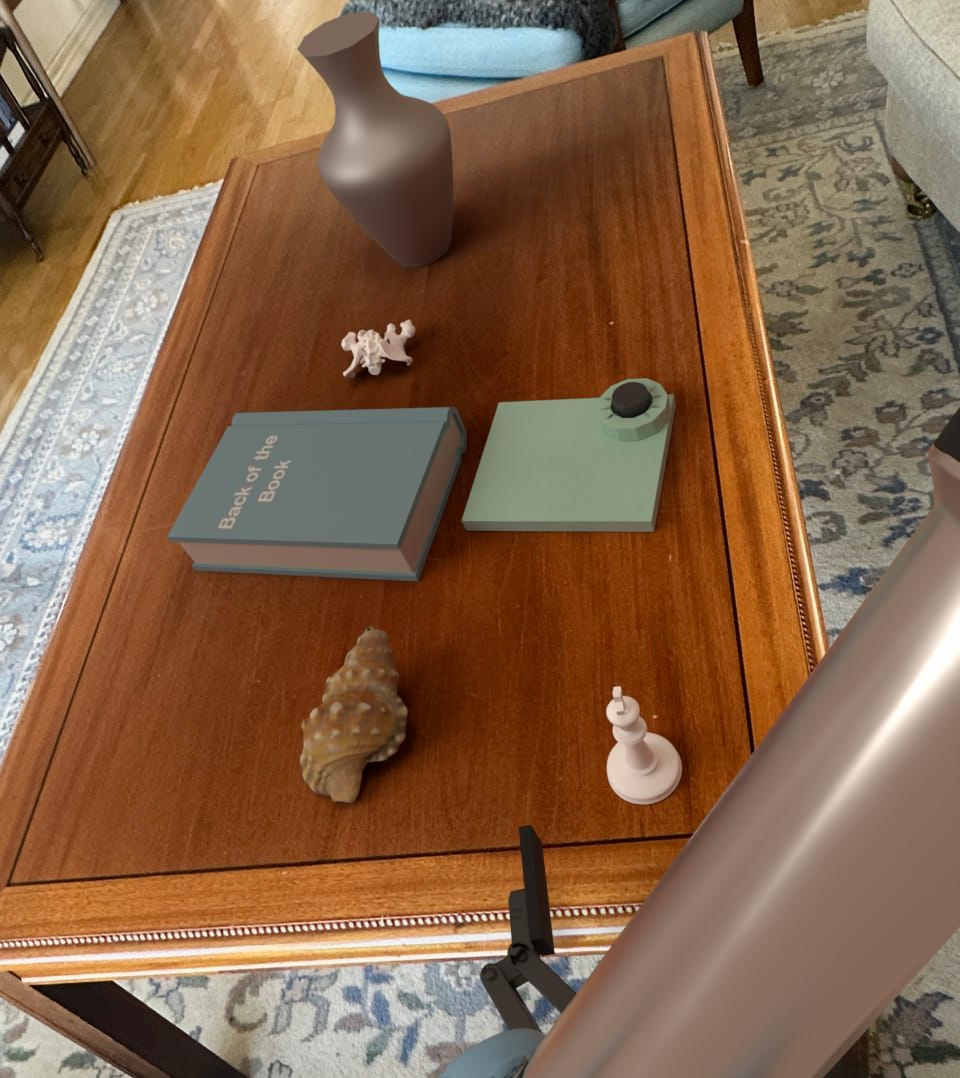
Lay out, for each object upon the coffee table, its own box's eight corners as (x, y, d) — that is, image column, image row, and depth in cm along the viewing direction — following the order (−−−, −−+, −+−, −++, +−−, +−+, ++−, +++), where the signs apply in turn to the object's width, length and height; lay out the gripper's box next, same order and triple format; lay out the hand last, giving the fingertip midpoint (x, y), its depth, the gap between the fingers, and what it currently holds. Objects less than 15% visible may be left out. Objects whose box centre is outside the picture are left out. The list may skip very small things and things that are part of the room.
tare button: (652, 392, 83) (649, 380, 82) (647, 417, 81) (644, 406, 80) (617, 394, 84) (614, 382, 83) (612, 419, 82) (609, 407, 81)
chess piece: (676, 730, 66) (652, 651, 58) (687, 799, 63) (664, 724, 55) (603, 741, 67) (571, 665, 60) (611, 810, 64) (578, 737, 56)
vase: (472, 280, 105) (389, 53, 87) (351, 298, 110) (249, 86, 92) (493, 202, 114) (422, -20, 96) (380, 222, 119) (292, 14, 101)
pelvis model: (410, 304, 99) (403, 342, 95) (423, 339, 102) (416, 377, 98) (337, 320, 101) (326, 358, 97) (352, 354, 104) (342, 392, 100)
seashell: (328, 731, 78) (313, 620, 74) (428, 737, 76) (418, 624, 73) (288, 806, 70) (269, 685, 66) (399, 814, 68) (386, 691, 64)
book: (195, 570, 90) (166, 536, 86) (262, 441, 99) (239, 406, 95) (418, 581, 81) (397, 544, 77) (469, 438, 90) (452, 399, 86)
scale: (676, 401, 85) (671, 376, 83) (654, 532, 77) (648, 507, 75) (503, 409, 91) (494, 385, 89) (466, 531, 83) (455, 508, 81)
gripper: (481, 1301, 48) (458, 875, 62) (1021, 1242, 43) (864, 798, 57) (431, 1293, 42) (418, 827, 56) (1043, 1224, 38) (864, 738, 52)
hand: (643, 812), depth 57 cm, fingers open, 13 cm apart
